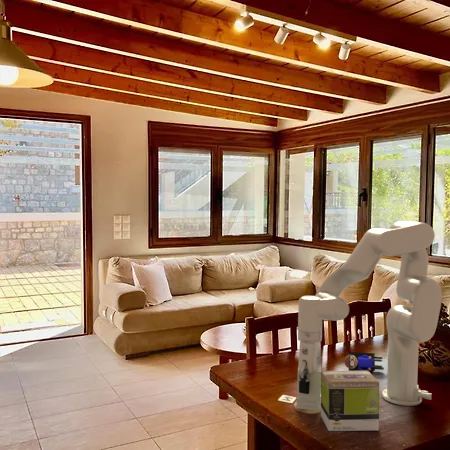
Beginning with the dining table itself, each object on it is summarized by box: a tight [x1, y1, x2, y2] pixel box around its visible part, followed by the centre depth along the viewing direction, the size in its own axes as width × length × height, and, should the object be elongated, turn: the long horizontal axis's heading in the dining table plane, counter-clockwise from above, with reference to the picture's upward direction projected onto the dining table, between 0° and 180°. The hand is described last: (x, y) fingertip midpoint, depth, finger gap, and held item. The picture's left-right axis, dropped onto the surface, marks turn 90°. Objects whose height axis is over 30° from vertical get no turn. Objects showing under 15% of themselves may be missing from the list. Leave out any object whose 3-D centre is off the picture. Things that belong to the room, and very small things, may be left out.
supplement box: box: [296, 364, 322, 411], centre depth 154 cm, size 7×7×13 cm
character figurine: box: [343, 351, 385, 372], centre depth 188 cm, size 8×7×15 cm
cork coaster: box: [293, 401, 321, 415], centre depth 154 cm, size 9×9×1 cm
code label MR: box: [277, 394, 297, 404], centre depth 160 cm, size 5×5×1 cm
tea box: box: [320, 370, 380, 432], centre depth 142 cm, size 15×10×15 cm, turn 92°
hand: (308, 387), depth 153 cm, fingers open, 9 cm apart
